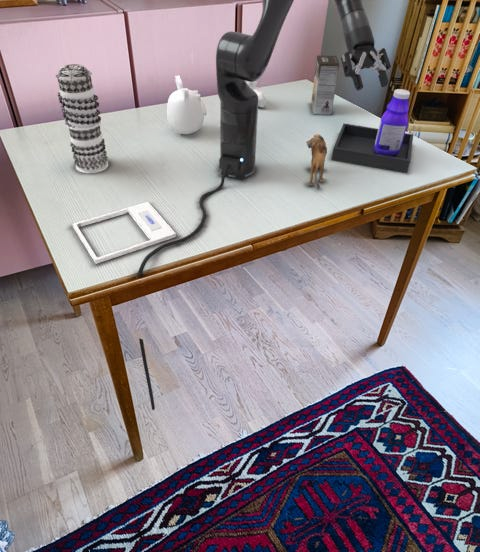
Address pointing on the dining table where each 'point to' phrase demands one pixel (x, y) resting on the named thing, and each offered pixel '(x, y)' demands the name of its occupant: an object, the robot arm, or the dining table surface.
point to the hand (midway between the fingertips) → (372, 87)
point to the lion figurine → (317, 157)
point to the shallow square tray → (369, 149)
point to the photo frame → (147, 222)
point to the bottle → (393, 125)
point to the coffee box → (324, 84)
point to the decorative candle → (82, 118)
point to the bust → (260, 95)
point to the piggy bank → (185, 109)
